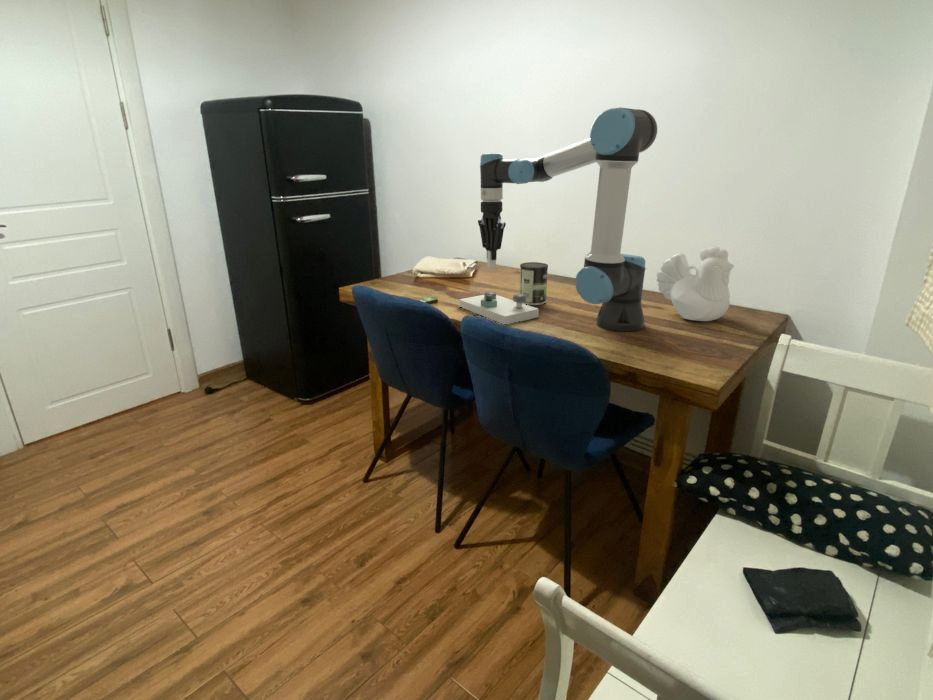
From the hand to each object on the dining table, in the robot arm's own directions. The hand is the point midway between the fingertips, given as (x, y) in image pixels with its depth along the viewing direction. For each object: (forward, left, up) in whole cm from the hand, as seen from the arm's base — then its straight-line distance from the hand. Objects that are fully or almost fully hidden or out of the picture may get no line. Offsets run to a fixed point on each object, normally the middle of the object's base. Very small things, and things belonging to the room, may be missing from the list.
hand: (491, 268), depth 195 cm
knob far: (0, 0, -14) cm, 13 cm away
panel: (-8, +3, -14) cm, 16 cm away
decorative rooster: (-51, -47, -14) cm, 71 cm away
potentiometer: (-8, +7, -11) cm, 15 cm away
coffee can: (-5, -16, -14) cm, 22 cm away
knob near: (-16, 0, -11) cm, 19 cm away
